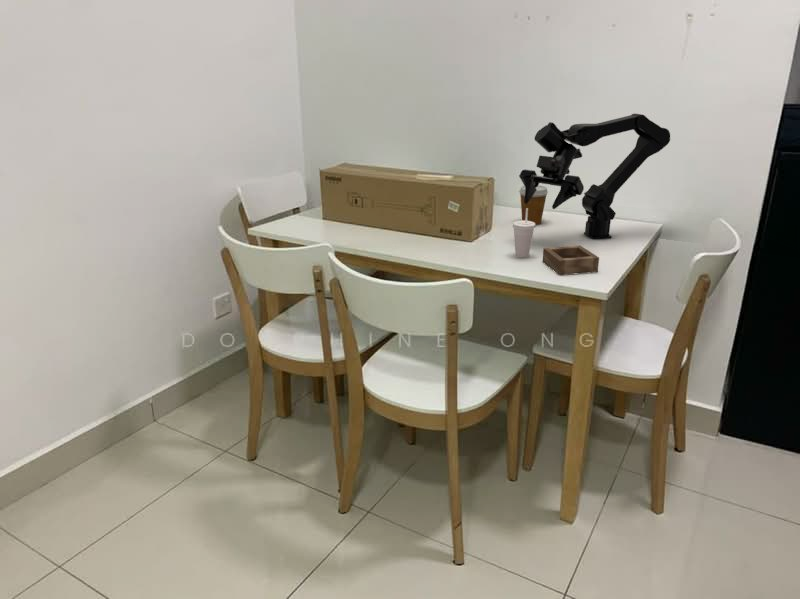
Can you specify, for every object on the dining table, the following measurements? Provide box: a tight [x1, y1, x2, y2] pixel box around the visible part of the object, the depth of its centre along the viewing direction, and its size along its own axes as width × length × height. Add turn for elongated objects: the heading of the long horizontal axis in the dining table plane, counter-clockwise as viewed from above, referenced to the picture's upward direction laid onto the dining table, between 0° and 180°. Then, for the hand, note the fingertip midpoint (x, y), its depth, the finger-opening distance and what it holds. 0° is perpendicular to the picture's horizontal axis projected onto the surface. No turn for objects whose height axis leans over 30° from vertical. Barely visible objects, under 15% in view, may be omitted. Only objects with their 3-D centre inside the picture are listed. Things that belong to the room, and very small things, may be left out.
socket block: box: [542, 244, 600, 276], centre depth 166 cm, size 11×11×4 cm
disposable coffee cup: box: [518, 185, 549, 226], centre depth 206 cm, size 10×10×12 cm
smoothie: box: [512, 208, 536, 259], centre depth 173 cm, size 6×6×14 cm
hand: (538, 205), depth 176 cm, fingers open, 9 cm apart
